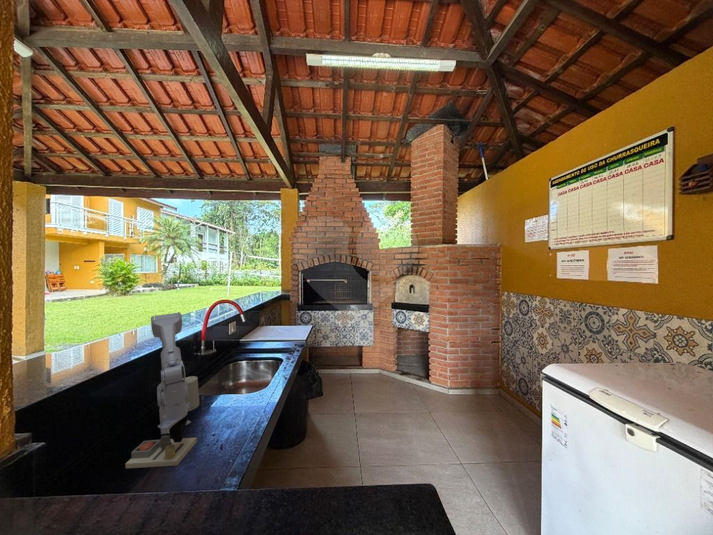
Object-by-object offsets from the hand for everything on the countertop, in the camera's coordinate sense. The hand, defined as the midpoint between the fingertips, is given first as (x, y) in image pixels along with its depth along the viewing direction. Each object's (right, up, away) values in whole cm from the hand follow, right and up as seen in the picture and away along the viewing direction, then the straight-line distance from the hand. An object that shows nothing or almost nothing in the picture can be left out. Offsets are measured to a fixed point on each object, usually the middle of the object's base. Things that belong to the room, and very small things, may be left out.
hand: (178, 441), depth 92 cm
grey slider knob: (-5, -2, +1) cm, 5 cm away
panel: (-5, -4, 0) cm, 6 cm away
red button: (-10, -3, -1) cm, 10 cm away
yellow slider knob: (0, -2, -4) cm, 5 cm away
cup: (-14, -4, +29) cm, 33 cm away
